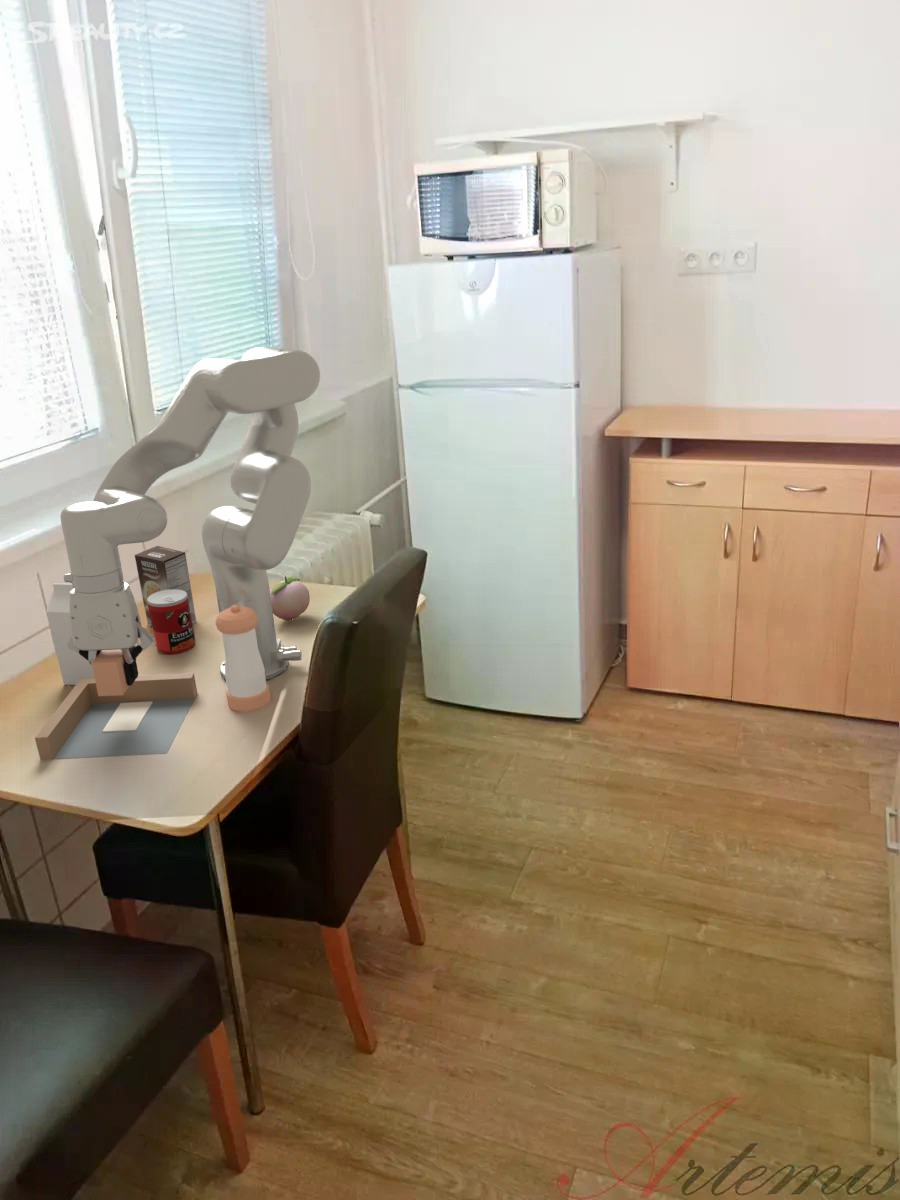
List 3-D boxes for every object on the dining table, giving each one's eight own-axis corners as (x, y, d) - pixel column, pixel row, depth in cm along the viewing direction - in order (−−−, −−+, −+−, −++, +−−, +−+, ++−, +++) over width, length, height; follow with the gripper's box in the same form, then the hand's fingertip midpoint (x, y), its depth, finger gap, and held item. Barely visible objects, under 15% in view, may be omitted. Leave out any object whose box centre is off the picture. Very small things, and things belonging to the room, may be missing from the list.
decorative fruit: (300, 631, 189) (294, 586, 185) (264, 628, 191) (258, 583, 187) (319, 613, 197) (314, 570, 193) (285, 610, 199) (279, 567, 196)
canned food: (175, 658, 180) (166, 606, 176) (147, 650, 184) (137, 599, 180) (204, 643, 186) (195, 592, 182) (176, 635, 190) (167, 586, 186)
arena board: (198, 698, 164) (193, 672, 162) (168, 759, 145) (162, 731, 143) (86, 704, 164) (80, 678, 162) (42, 766, 145) (34, 737, 143)
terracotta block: (122, 695, 150) (116, 661, 148) (98, 696, 150) (91, 662, 148) (137, 673, 157) (131, 641, 155) (114, 674, 157) (108, 642, 155)
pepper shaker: (234, 697, 163) (218, 598, 156) (275, 696, 163) (261, 596, 156) (224, 718, 157) (207, 615, 149) (266, 716, 156) (251, 613, 149)
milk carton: (98, 687, 170) (76, 592, 163) (63, 685, 171) (41, 591, 164) (118, 669, 176) (98, 577, 169) (84, 668, 178) (64, 576, 171)
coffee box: (146, 625, 196) (132, 554, 190) (169, 614, 201) (156, 545, 195) (175, 633, 191) (162, 560, 185) (198, 622, 196) (186, 551, 190)
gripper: (36, 590, 143) (59, 695, 150) (143, 586, 143) (161, 690, 150) (55, 573, 150) (76, 674, 157) (157, 569, 150) (174, 670, 157)
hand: (117, 681), depth 153 cm, fingers closed on terracotta block, 4 cm apart
